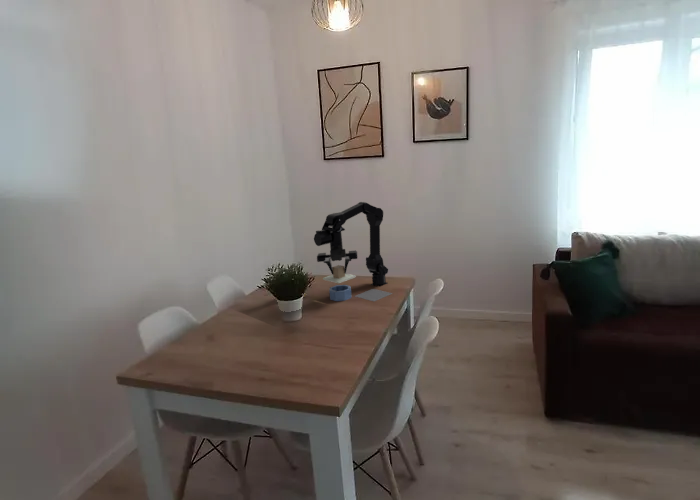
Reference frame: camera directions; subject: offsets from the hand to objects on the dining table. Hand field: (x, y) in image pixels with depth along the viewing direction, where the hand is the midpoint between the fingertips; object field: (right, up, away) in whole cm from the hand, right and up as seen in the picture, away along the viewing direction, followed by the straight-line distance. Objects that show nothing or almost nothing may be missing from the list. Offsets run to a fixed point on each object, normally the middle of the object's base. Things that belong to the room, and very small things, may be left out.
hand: (338, 273), depth 215 cm
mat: (+16, -11, +2) cm, 20 cm away
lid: (0, -2, 0) cm, 2 cm away
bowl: (+1, -12, +3) cm, 12 cm away
